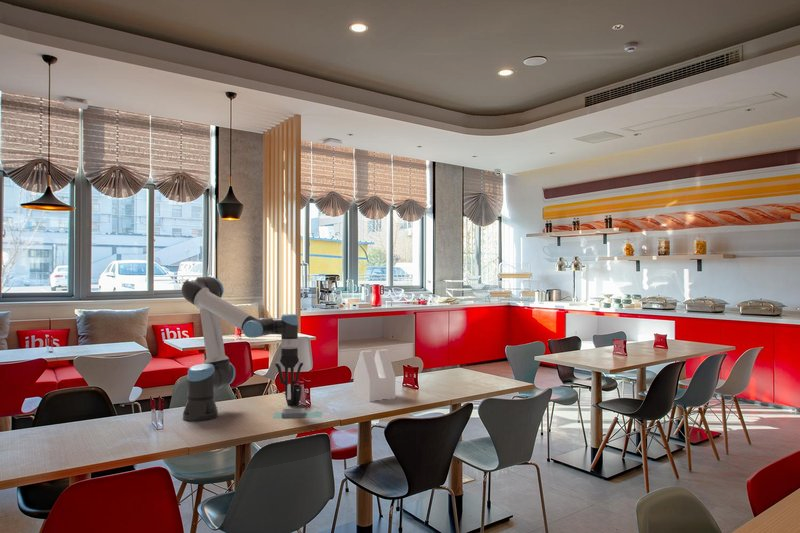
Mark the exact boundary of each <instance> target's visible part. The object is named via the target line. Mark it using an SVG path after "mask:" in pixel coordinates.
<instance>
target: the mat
mask: <svg viewBox="0 0 800 533" xmlns="http://www.w3.org/2000/svg"><path fill="white" fill-rule="evenodd" d="M322 415H323V411H305V415H304V417H286V418H285V419H296V418H297V419H298V418H300V419H302V418H308V419H309V418H322ZM272 419H283V418H282V412H274V414H273V416H272Z"/></svg>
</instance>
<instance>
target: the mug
mask: <svg viewBox="0 0 800 533" xmlns="http://www.w3.org/2000/svg"><path fill="white" fill-rule="evenodd" d="M302 392H303V391H302V385H300V384H294V390H293V392H291V399H289V400H287V392H285V391H284V397H285V400H286V404H287V406H291V407H294V406H300V402H301V397H302Z"/></svg>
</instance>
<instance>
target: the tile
mask: <svg viewBox="0 0 800 533" xmlns="http://www.w3.org/2000/svg"><path fill="white" fill-rule="evenodd" d="M305 412H306V408H304V407H303V408H302V407H301V408H300V407H299V408H296V407H295V408H283V410H282V412H281V413H282V418H281V419H287V418H286V417H304V415H305Z"/></svg>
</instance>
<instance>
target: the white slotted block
mask: <svg viewBox="0 0 800 533" xmlns="http://www.w3.org/2000/svg"><path fill="white" fill-rule="evenodd" d="M395 374H396V373H395V371H394V367H393V363H392V360H391V357H390V353H389V349H387V348H385V349H376V351H375V355H374V354H373V350H361V351H360V353H359V356H358V359H357V362H356V364H355V369H354V371H353V391H352V392H353V393H352V394H354V395H353V396H355V395H356V396H355V397H357V396H358V398H360V397H361V398H360V399H362V398H363V399H362V400H364V399H365V401H367V400H368V401H367V402H369V401H372V402H376V401H375V400H380V401H383V400H382V399H388V400H391V399H390V398H395V399H396V375H395Z"/></svg>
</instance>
